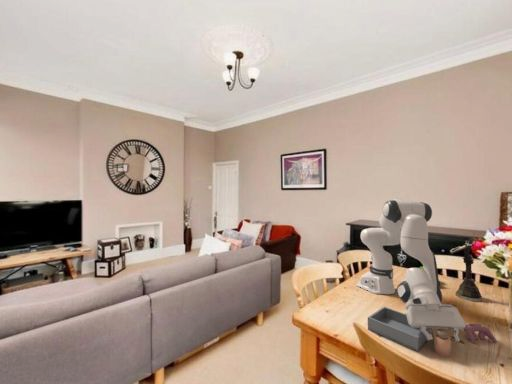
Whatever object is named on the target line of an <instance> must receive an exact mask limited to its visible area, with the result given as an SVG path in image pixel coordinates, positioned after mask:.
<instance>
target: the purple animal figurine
mask: <svg viewBox="0 0 512 384" xmlns="http://www.w3.org/2000/svg"><path fill="white" fill-rule="evenodd" d="M463 331H464V333H465V334H466V336H467V338H468V340H469V341H470V342H471V343H472V344H476V340H478V338H479V339H480V340H485V339H486V337H487V338H488V339H489V340H490V341H491V342H492V343H493V344H497V338H496V337H495V335H494V334H493V332H492V331H491V330H490V329H489V327H487V326H486V325H483V324H481V323H480V324H479V323H469V324H466V327H465V328H464V329H463ZM476 332H477V333H476Z"/></svg>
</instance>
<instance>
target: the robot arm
mask: <svg viewBox="0 0 512 384" xmlns="http://www.w3.org/2000/svg"><path fill="white" fill-rule="evenodd" d="M432 216H433V210H432V207H431V206H430V205H429V203H426V202H421V201H413V200H403V199H400V198H394V199H392V200H387V201H386V202H384V205H383V208H382V213H381V215H380V218H379V221H378V224H379V226H380V227H368V228H365V229H362V230H361V232H360V240H361V242H362V243H363V244H364V245H365V246H367V248H368V249H369V251H370V253H371V258H372V259H371V261H372V264H371V265H370V266H369V267H367V268H368V270H369V271H367V272H365V273H364V274H362V275H361V277H360V279H359V281H357V282H356V285H357V286H356V287H358V288H360V287H361V289H363V290H365V291H367V290H368V292H369V293H373V294H375V295H393V294H395V293H396V292H397V296H398V298H399V299H400V300H401V301H402V302H403V303H404V307H405V309H406V311H405V314H406V316H407V320H408V323H409V325H410V326H411V327H416V328H420V330H421V331H422V332H423V334H424V335H426V338H427V340H428V341H434V336H433V334H432V335H431V334H429V333H428V332H427V331H426V328H432V329H436V330H437V329H442V330H451V332H452V333H453V335H452V336H451V340H452V341H453V342H456V343H457V342H460V338H459V332H460V330H464V328H465V327H466V325H467V323H466V321H465V320H464V318H463V317H462V314H461V313H460V311H459V309H458V308H457V307H456V306H455V305H452V304H447V303H446V304H445V303H442V302H443V293H442V291H441V285H440V286H439V281H440V279H439V272H438V266H437V265H438V264H437V259H436V258H437V257H436V255H435V253H434V252H433V251H432V250H431V249H430V246H429V228H428V222H430V220H431V218H432ZM400 227H401V229H400ZM396 245H397V246H398V245H400V247H401V249H402V251H403V252H404V253H405V254H406V255H408V256H410V257H412V258H414V259H416V260H418V261H419V262H420V263H421V264H422V267H424V269H422V268H420V267H419V266H418V267H415V266H414V267H409V268H407V269H406V270H405V277H404V279H403V280H402V281H401V282H400V283H399V284H398V285H397V287H396V288H395V284H394V268H393V256H392V254H391V253H390V252H388V251H386V250H385V249H384V246H396Z"/></svg>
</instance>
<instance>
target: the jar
mask: <svg viewBox="0 0 512 384" xmlns="http://www.w3.org/2000/svg"><path fill="white" fill-rule="evenodd" d="M433 347H434V349H433V351H434V352H435V354H437V355H439V356H441V357H444V358H445V357H446V358H450V357H451V356H452V337H450V336H449V332H448V331H446V329H437V328H436V333H433Z"/></svg>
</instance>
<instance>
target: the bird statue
mask: <svg viewBox="0 0 512 384" xmlns="http://www.w3.org/2000/svg"><path fill="white" fill-rule="evenodd" d="M474 241H475V238H474V237H471V238H469V239H468V242H467V241H465V243H464V244H463V245H462V246H460V245H459V246H457V247H455V248H452V249H450V250H449V256H452V255H453V254H456V253H458V252H460V251H463V254H464V256H463V257H462V260H463V263H464V264H465V270H464V271H465V277H463V281H462V282H461V283H460V285H459V287H458V289H457V290H456V291H455V296H456V297H458V298H460V299H461V300H466V301H469V302H479V303H480V302H482V300H483V296H482V294H481V292H480V289H479V288H478V286H477V284H476V282H475V279H473V278H472V272H473V270H472V265H473V264H474V261H475V259H474V258H473V255H472V254H471V253H470V251H471V250H473V249H471V246H472V243H473V242H474ZM473 244H474V243H473Z"/></svg>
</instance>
